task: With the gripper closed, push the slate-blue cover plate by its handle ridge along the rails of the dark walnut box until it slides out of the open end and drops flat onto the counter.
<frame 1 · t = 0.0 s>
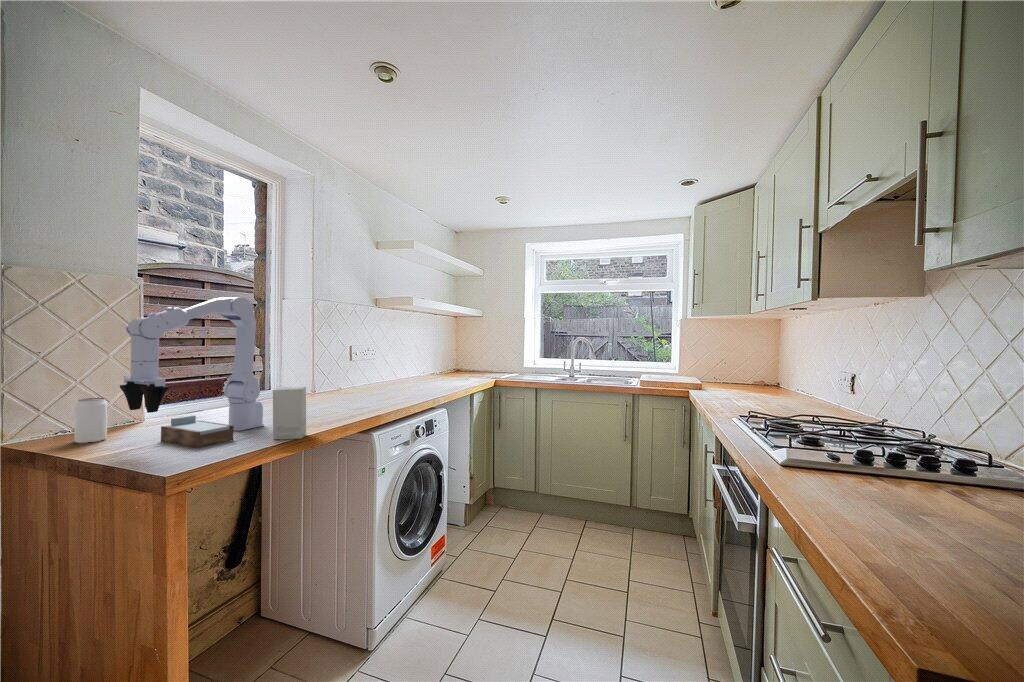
hand: (143, 410, 112), 10 cm above the countertop, tool pointing down, fingers open, 7 cm apart
skincare box: (289, 438, 128), on the countertop
cover plate: (197, 429, 121), point 3 cm above the countertop, touching walnut box
walnut box: (197, 440, 121), on the countertop
can: (90, 441, 117), on the countertop
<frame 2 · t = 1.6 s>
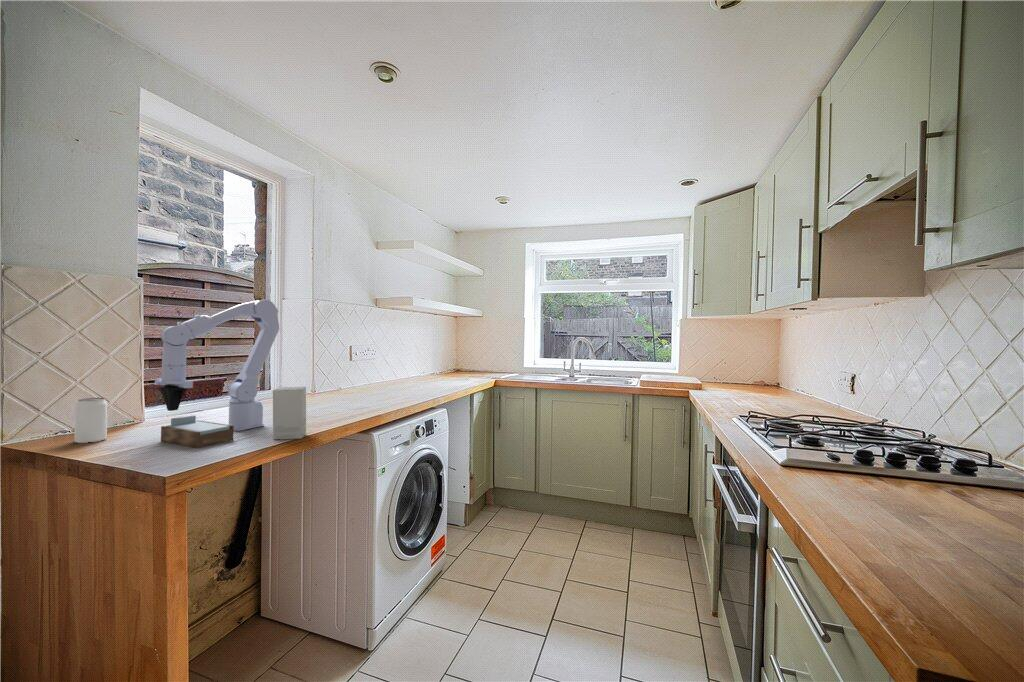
hand: (172, 410, 125), 8 cm above the countertop, tool pointing down, fingers closed
nothing on the countertop moved.
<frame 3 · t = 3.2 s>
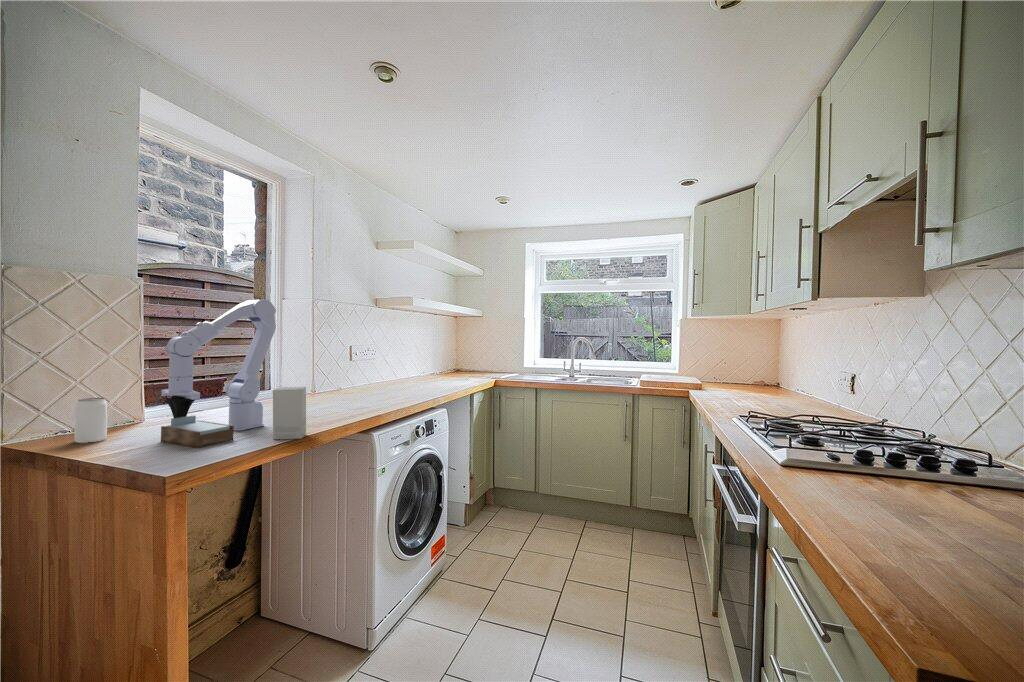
hand: (179, 421, 124), 5 cm above the countertop, tool pointing down, fingers closed
cover plate: (197, 429, 121), point 3 cm above the countertop, touching gripper
everything else where it was.
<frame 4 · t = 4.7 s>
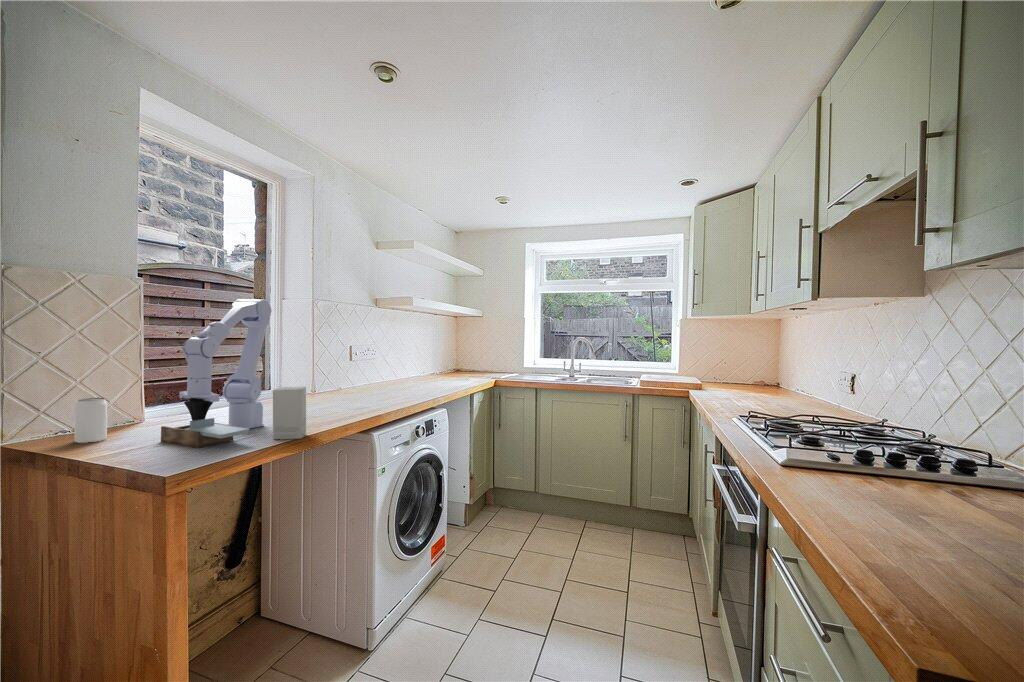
hand: (198, 424, 121), 5 cm above the countertop, tool pointing down, fingers closed
cover plate: (217, 432, 118), point 3 cm above the countertop
everything else where it was.
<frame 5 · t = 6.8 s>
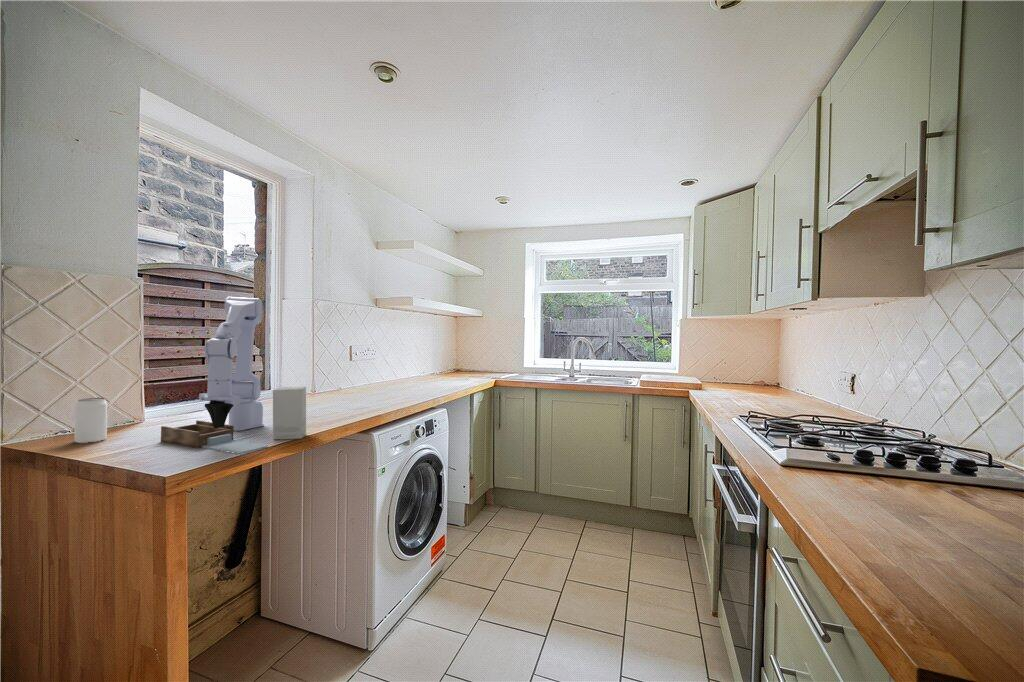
hand: (218, 427, 118), 5 cm above the countertop, tool pointing down, fingers closed
cover plate: (234, 449, 116), on the countertop
everything else where it was.
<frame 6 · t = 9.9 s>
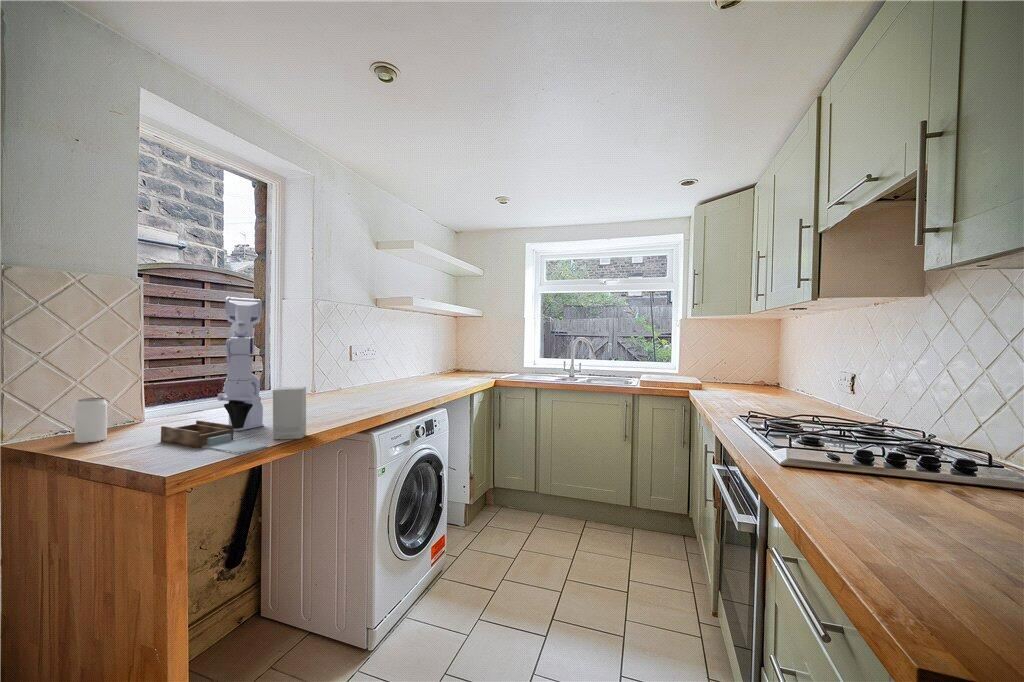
hand: (238, 428, 115), 6 cm above the countertop, tool pointing down, fingers closed
nothing on the countertop moved.
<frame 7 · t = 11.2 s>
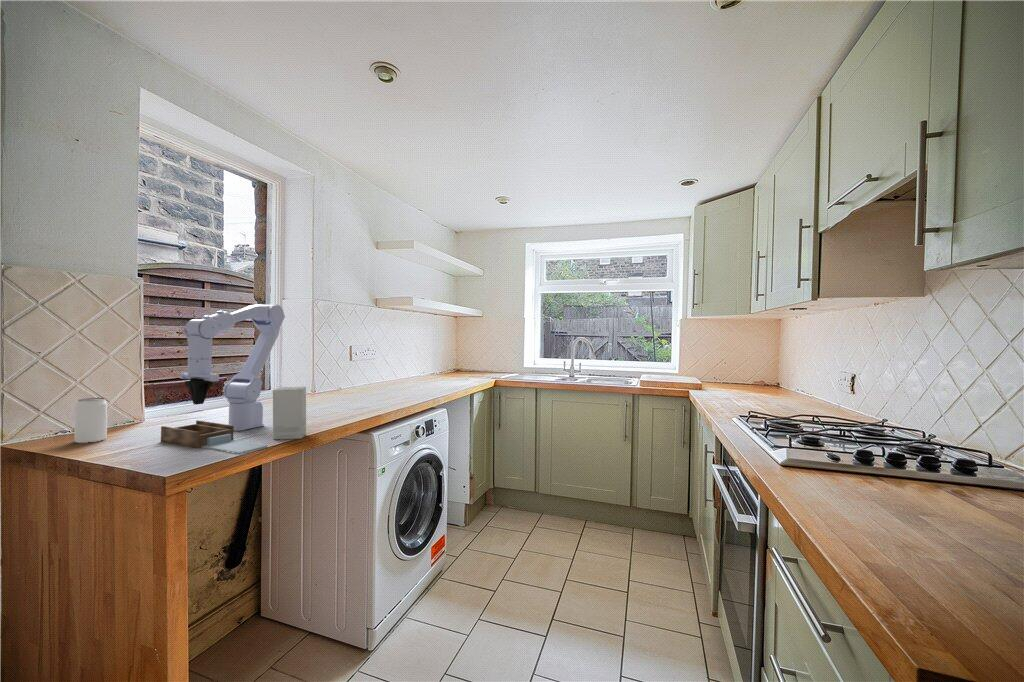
hand: (198, 403, 124), 10 cm above the countertop, tool pointing down, fingers closed
nothing on the countertop moved.
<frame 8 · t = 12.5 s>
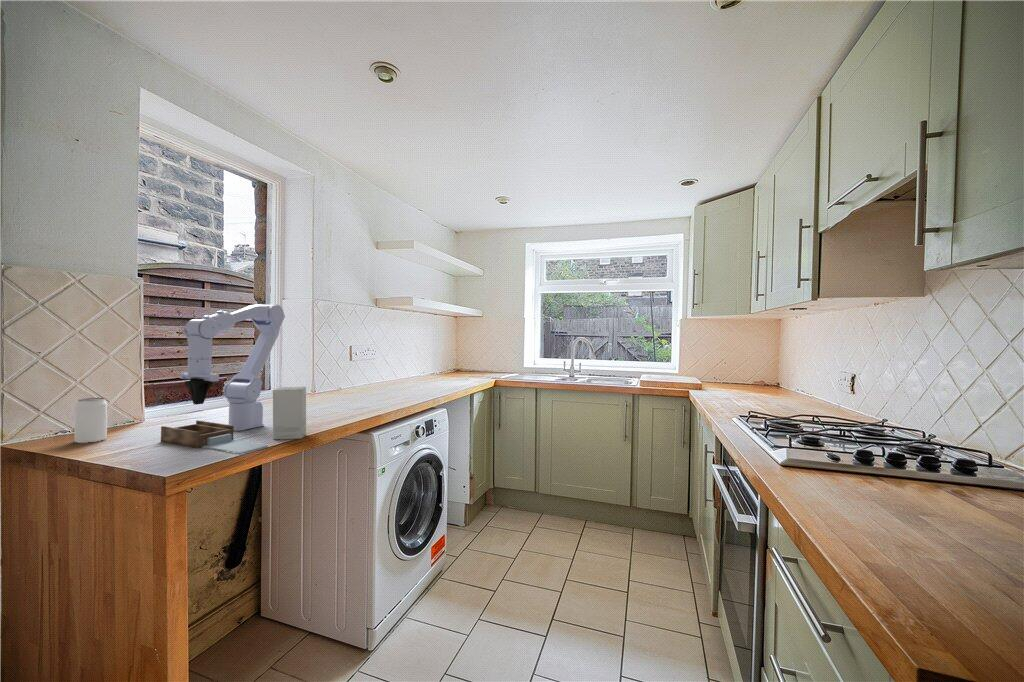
hand: (198, 403, 124), 10 cm above the countertop, tool pointing down, fingers closed
nothing on the countertop moved.
at the end: cover plate inside the target area (6.6 cm from its centre), on the countertop; cover plate tilted 0° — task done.
